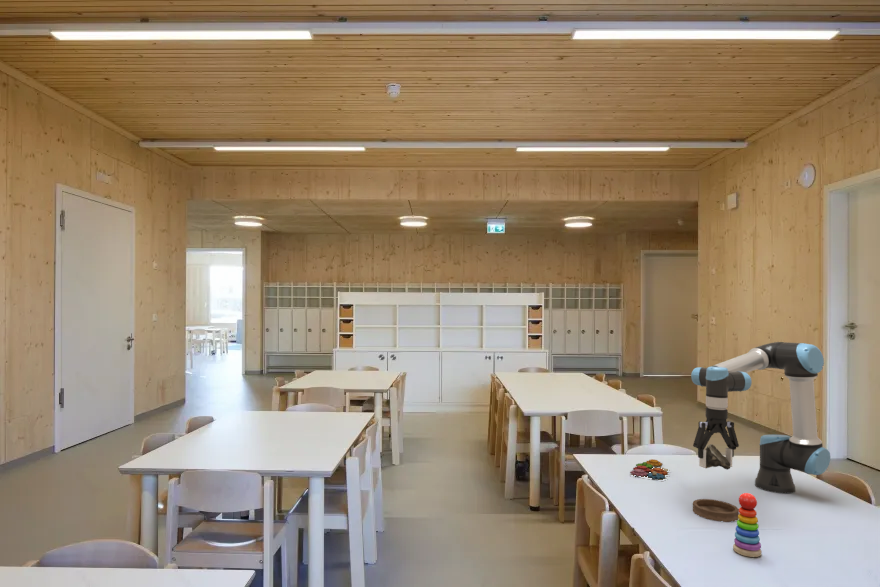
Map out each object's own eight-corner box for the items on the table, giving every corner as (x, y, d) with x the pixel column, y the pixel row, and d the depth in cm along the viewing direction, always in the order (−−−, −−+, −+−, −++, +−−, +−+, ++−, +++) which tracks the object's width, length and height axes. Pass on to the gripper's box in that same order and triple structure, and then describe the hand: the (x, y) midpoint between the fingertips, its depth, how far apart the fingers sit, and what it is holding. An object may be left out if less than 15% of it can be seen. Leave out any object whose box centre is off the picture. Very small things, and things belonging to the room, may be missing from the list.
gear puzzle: (640, 462, 285) (640, 454, 285) (674, 467, 277) (674, 458, 277) (628, 477, 258) (628, 468, 258) (666, 483, 250) (666, 474, 250)
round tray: (718, 505, 220) (718, 498, 220) (748, 520, 205) (748, 512, 205) (684, 507, 217) (684, 500, 217) (711, 522, 202) (711, 514, 202)
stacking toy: (727, 547, 181) (728, 489, 181) (751, 547, 182) (751, 489, 182) (742, 558, 173) (743, 497, 174) (767, 558, 174) (768, 497, 174)
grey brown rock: (736, 470, 205) (723, 445, 206) (712, 480, 207) (699, 455, 208) (727, 462, 216) (714, 438, 217) (704, 471, 217) (692, 447, 218)
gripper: (735, 405, 218) (735, 462, 218) (683, 406, 214) (682, 464, 213) (750, 409, 211) (749, 468, 211) (696, 410, 206) (695, 470, 206)
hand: (715, 466), depth 212 cm, fingers closed on grey brown rock, 11 cm apart
